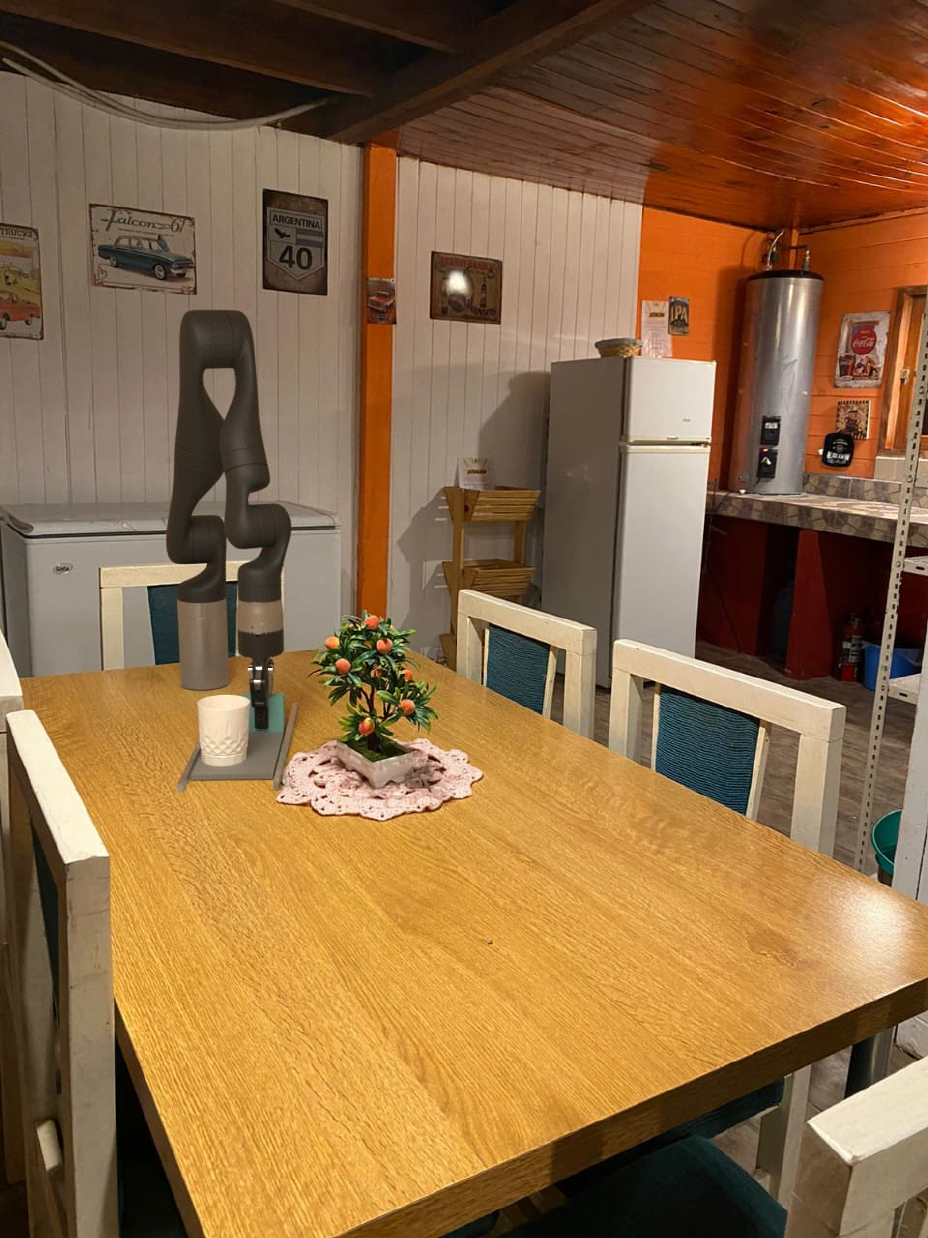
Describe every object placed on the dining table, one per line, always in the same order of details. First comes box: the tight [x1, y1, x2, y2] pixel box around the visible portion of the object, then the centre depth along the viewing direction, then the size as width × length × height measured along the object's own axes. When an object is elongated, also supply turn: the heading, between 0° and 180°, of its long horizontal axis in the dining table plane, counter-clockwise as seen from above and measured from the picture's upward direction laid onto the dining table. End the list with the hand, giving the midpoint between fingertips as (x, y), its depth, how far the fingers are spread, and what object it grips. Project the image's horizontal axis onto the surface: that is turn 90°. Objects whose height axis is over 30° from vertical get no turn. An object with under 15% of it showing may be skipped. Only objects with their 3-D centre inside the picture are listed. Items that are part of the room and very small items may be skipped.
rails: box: [176, 701, 299, 793], centre depth 160 cm, size 38×14×1 cm, turn 5°
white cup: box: [196, 694, 250, 766], centre depth 151 cm, size 8×8×10 cm
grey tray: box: [190, 692, 287, 781], centre depth 155 cm, size 22×12×7 cm, turn 5°
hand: (262, 724), depth 165 cm, fingers open, 2 cm apart
